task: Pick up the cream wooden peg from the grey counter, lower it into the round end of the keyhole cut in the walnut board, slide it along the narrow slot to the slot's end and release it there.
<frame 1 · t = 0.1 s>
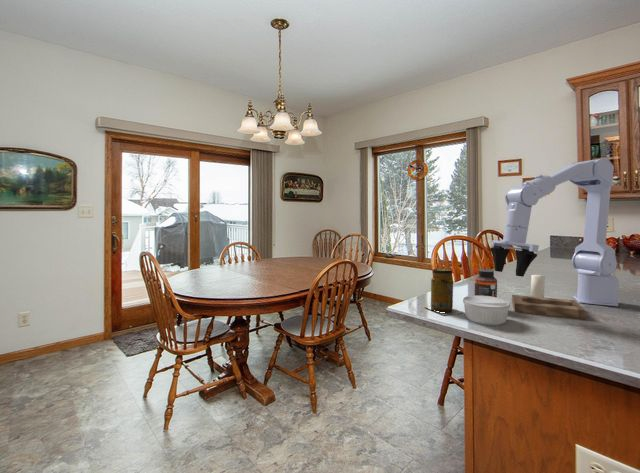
hand: (508, 273, 95), 11 cm above the countertop, tool pointing down, fingers open, 7 cm apart
keyhole board: (545, 310, 95), on the countertop
condiment: (443, 311, 95), on the countertop
cream peg: (537, 300, 105), on the countertop
supplement bottle: (485, 308, 98), on the countertop
ramekin: (485, 320, 87), on the countertop
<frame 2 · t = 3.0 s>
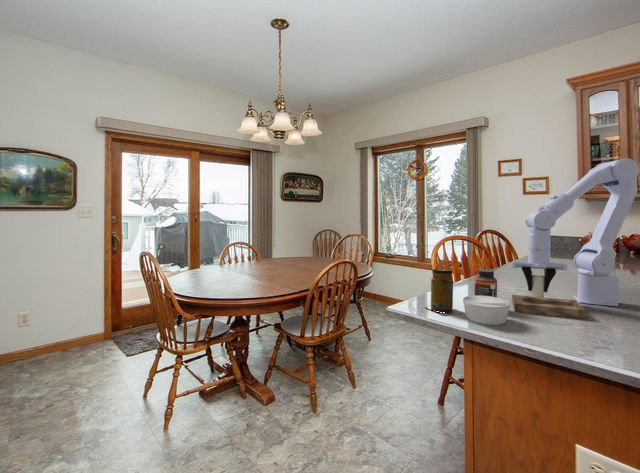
hand: (537, 291, 105), 3 cm above the countertop, tool pointing down, fingers closed on cream peg, 4 cm apart
cream peg: (537, 300, 105), on the countertop, touching gripper
everything else where it was.
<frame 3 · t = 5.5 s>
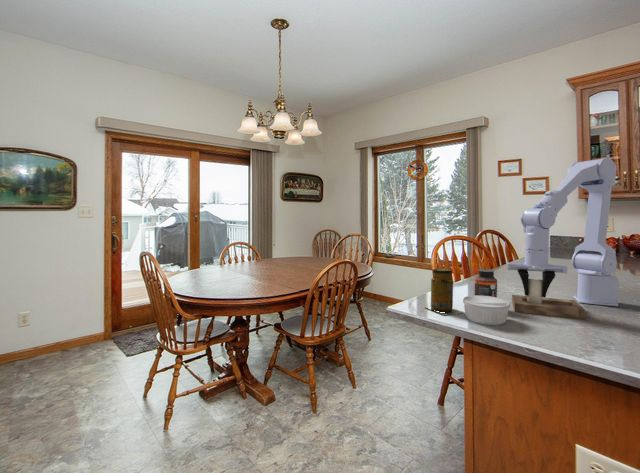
hand: (534, 295, 95), 4 cm above the countertop, tool pointing down, fingers closed on cream peg, 4 cm apart
cream peg: (534, 306, 96), point 1 cm above the countertop, touching gripper
everything else where it was.
when the fingers open (4 cm above the countertop, at t = 8.4 s): cream peg stays where it is, resting in keyhole board.
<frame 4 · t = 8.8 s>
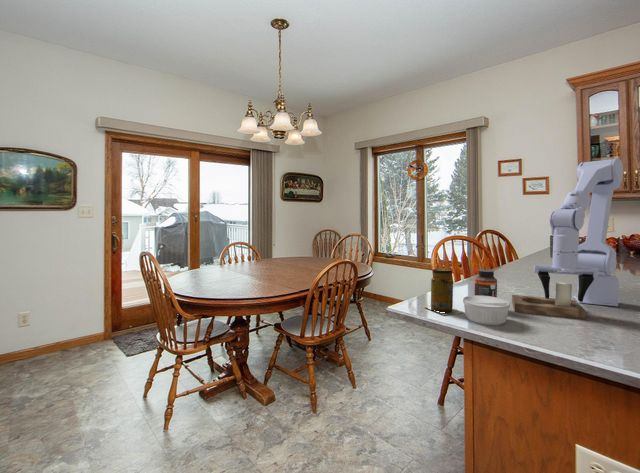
hand: (563, 299, 92), 4 cm above the countertop, tool pointing down, fingers open, 7 cm apart
cream peg: (562, 311, 93), resting in keyhole board
everything else where it was.
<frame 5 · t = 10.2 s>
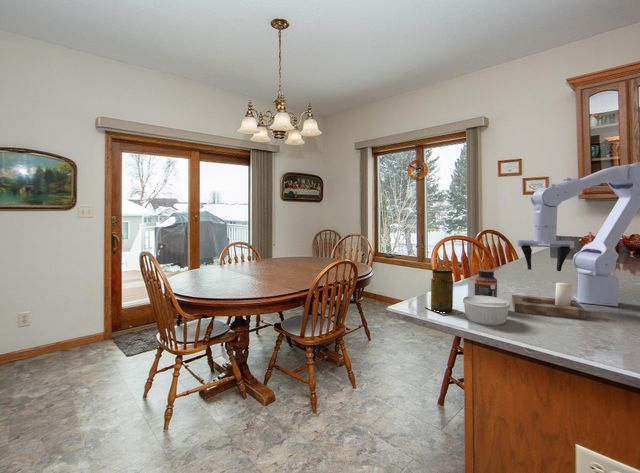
hand: (543, 270, 102), 10 cm above the countertop, tool pointing down, fingers open, 7 cm apart
nothing on the countertop moved.
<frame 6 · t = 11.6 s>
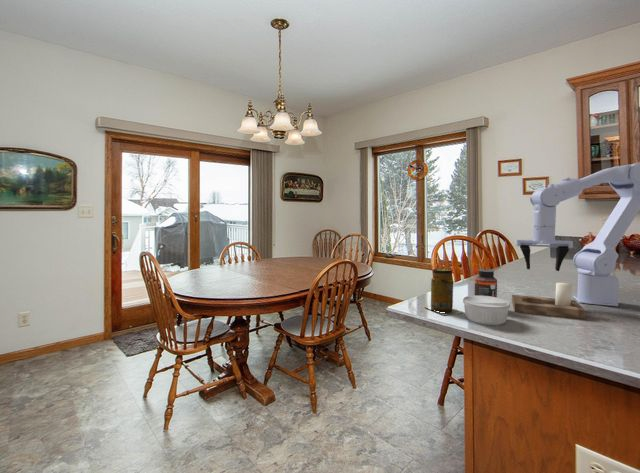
hand: (542, 269, 103), 10 cm above the countertop, tool pointing down, fingers open, 7 cm apart
nothing on the countertop moved.
at the end: cream peg 0.2 cm from the target spot on the keyhole board, point 0.0 cm above the keyhole board's base; cream peg tilted 0°; the gripper is holding nothing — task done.
